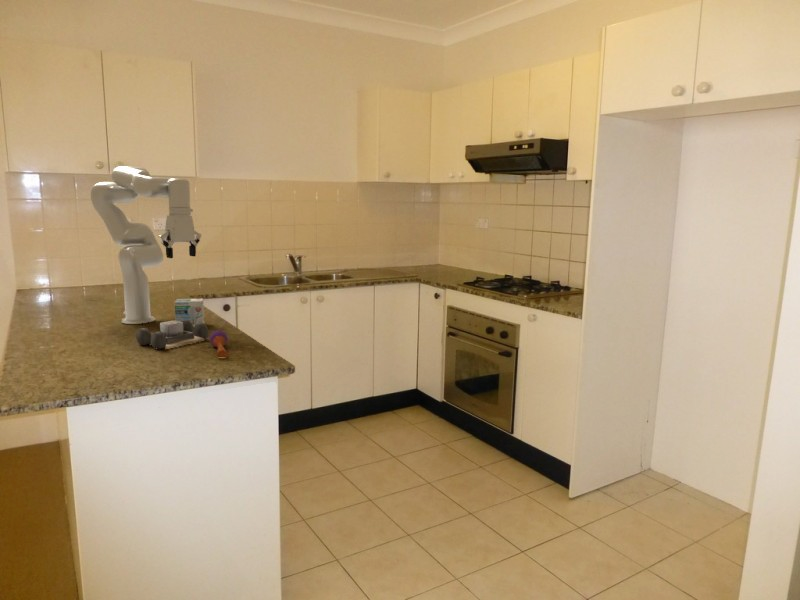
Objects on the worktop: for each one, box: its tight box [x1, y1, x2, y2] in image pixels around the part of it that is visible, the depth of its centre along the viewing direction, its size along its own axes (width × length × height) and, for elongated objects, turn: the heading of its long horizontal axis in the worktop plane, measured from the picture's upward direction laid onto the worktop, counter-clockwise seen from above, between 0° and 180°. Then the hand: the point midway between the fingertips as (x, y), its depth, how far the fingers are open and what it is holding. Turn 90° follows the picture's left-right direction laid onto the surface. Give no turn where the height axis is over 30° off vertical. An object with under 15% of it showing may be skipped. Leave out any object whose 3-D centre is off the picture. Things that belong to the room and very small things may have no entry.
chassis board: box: [135, 320, 209, 350], centre depth 206 cm, size 16×19×6 cm
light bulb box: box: [174, 298, 205, 326], centre depth 232 cm, size 11×7×11 cm, turn 105°
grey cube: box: [159, 319, 184, 338], centre depth 206 cm, size 6×6×6 cm
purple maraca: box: [209, 329, 228, 358], centre depth 195 cm, size 6×6×20 cm
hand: (181, 257), depth 220 cm, fingers open, 9 cm apart
